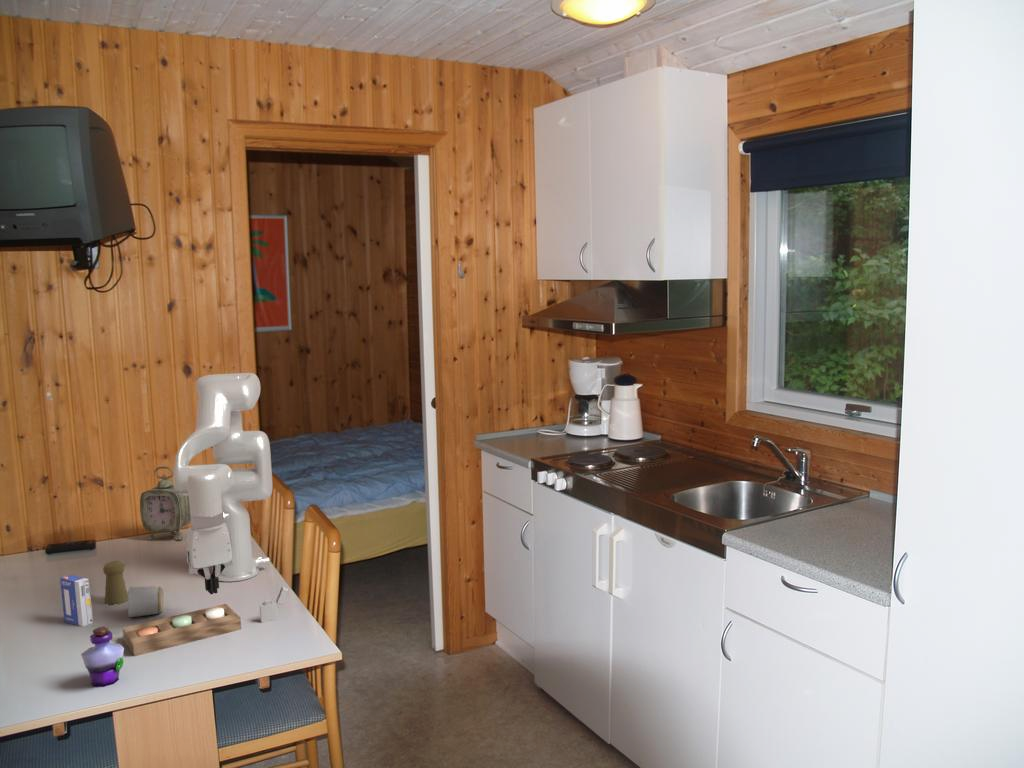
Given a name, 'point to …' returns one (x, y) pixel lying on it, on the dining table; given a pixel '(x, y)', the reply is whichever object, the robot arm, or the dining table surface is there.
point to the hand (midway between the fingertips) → (212, 592)
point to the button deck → (180, 630)
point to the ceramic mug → (145, 601)
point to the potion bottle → (103, 658)
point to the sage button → (181, 621)
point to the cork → (115, 583)
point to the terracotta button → (147, 631)
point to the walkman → (76, 600)
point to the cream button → (214, 613)
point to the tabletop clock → (164, 508)
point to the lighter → (271, 607)
